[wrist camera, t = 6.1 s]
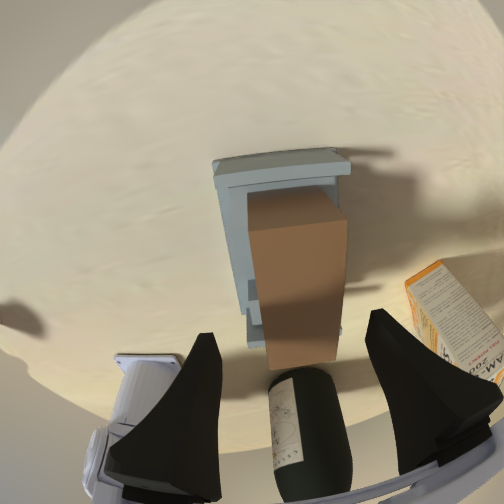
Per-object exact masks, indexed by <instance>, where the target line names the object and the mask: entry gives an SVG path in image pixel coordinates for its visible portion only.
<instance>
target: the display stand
mask: <svg viewBox="0 0 504 504" xmlns="http://www.w3.org/2000/svg"><path fill="white" fill-rule="evenodd" d="M212 166H213V172H214V176H213V178H214V183H215V189H217V194H218V199H219V204H220V210H221V215H222V220H223V225H224V231H225V236H226V241H227V246H228V251H229V256H230V261H231V266H232V271H233V276H234V281H235V285H236V290H237V295H238V300H239V305H240V309H241V314H242V315H244V314H246V315H247V345H248V348H257V347H266V346H265V339H264V333H263V326H262V320H261V313H260V307H259V300H258V293H257V287H256V280H255V274H254V267H253V261H252V254H251V248H250V241H249V235H248V214H247V193H250V192H257V191H265V190H273V189H282V188H291V187H301V186H311V185H318V186H319V187H320V188H321V189H322V190H323V191H324V192H325V194H326V195H327V196H328V197H329V198H330V199H331V200H332V202H333V203H334V204H335V205H336V206H337V207H338V175H351V163H350V161H349V160H347V159H345V158H343V157H342V156H340V155H338V154H337V149H335V148H333V147H327V148H312V149H299V150H288V151H278V152H269V153H260V154H252V155H245V156H238V157H231V158H224V159H218V160H213V162H212ZM341 334H342V327H341V325H340V333H339V335H341Z"/></svg>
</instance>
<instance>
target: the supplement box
mask: <svg viewBox="0 0 504 504" xmlns="http://www.w3.org/2000/svg"><path fill="white" fill-rule="evenodd" d="M405 287H406V291H407V294H408V298H409V301H410V305H411V308H412V313H413V319H414V326H415V329H416V331H417V332H418V334H419V336H420V338H421V340H422V341H423V343H424V345H425V346H426V347H428V348H429V349H430V350H431V351H433V352H434V353H436V354H437V355H439V356H440V357H442V358H443V359H445V360H446V361H448V362H449V363H451V364H453V365H455V366H456V367H458V368H460V369H462V370H464V371H466V372H468V373H470V374H472V375H475V376H477V377H479V378H482V379H485V380H488V381H491V382H494V383H497V385H498V387H500V385H501V383H502V382H503V380H504V337H503V335H502V334H501V333H500V331H499V330H498V329H497V327H496V326H495V324H494V323H493V322H492V320H491V319H490V318H489V316H488V315H487V314H486V313H485V311H484V310H483V309H482V308H481V306H480V305H479V304H478V303H477V301H476V300H475V299H474V298H473V297H472V295H471V294H470V293H469V292H468V291H467V290H466V288H465V287H464V286H463V285H462V284H461V283H460V281H459V280H458V279H457V278H456V277H455V276H454V275H453V274H452V273H451V271H450V270H449V269H448V268H447V267H446V266H445V265H444V264H443V263H442V262H441V261H440V260H439V261H437V262H436V263H434V264H433V265H431V266H429V267H428V268H426V269H425V270H423V271H421V272H420V273H418V274H417V275H415V276H414V277H412V278H410V279H409V280H407V281H406V282H405Z"/></svg>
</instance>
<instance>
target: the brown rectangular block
mask: <svg viewBox="0 0 504 504" xmlns="http://www.w3.org/2000/svg"><path fill="white" fill-rule="evenodd" d="M247 214H248V235H249V241H250V248H251V254H252V261H253V267H254V274H255V280H256V287H257V293H258V300H259V307H260V313H261V320H262V326H263V333H264V339H265V346H266V352H267V358H268V365H269V370H277V369H285V368H292V367H299V366H306V365H312V364H318V363H324V362H329V361H335V360H336V355H337V348H338V341H339V333H340V325H341V316H342V307H343V296H344V285H345V271H346V255H347V232H348V219H347V218H346V217H345V216H344V215H343V213H342V212H341V211H340V210H339V209H338V207H337V206H336V205H335V204H334V203H333V202H332V200H331V199H330V198H329V197H328V196H327V195H326V194H325V192H324V191H323V190H322V189H321V188H320V187H319V186H318V185H311V186H301V187H291V188H282V189H273V190H265V191H257V192H250V193H247Z"/></svg>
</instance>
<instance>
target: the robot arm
mask: <svg viewBox="0 0 504 504" xmlns="http://www.w3.org/2000/svg"><path fill="white" fill-rule="evenodd" d="M365 343H366V346H367V350H368V353H369V357H370V360H371V362H372V365H373V367H374V370H375V372H376V374H377V377H378V379H379V382H380V384H381V386H382V389H383V391H384V394H385V397H386V400H387V403H388V406H389V410H390V414H391V418H392V423H393V428H394V434H395V440H396V447H397V457H398V471H399V475H400V476H398V477H395V478H393V479H390V480H387V481H384V482H381V483H378V484H375V485H371V486H368V487H364V488H361V489H357V490H353V491H349V492H345V493H341V494H337V495H332V496H327V497H322V498H316V499H310V500H303V501H296V502H287V503H278V504H356V503H360V502H364V501H366V500H370V499H374V498H377V497H380V496H383V495H386V494H388V493H392V492H394V491H397V490H400V489H402V488H405V487H407V486H410V485H412V484H413V485H412V486H411V487H410V490H408V491H405V492H403V493H400V494H397V495H395V496H392V497H390V498H388V499H386V500H383V501H380V502H379V503H378V504H457V503H458V502H460V501H461V500H463V499H464V498H466V497H467V496H468V495H470V494H471V493H473V492H474V491H475V490H477V489H478V488H479V487H481V486H482V485H483V484H485V483H486V482H487V481H488V480H490V479H491V478H492V477H493V476H495V475H496V474H497V473H498V472H499V471H501V470H502V469H503V468H504V418H502V419H501V420H500V421H498V422H497V423H495V424H494V425H493V426H491V427H489V425H488V423H490V418H489V415H490V414H491V413H492V412H493V411H494V410H495V409H496V408H497V407H498V406H499V405H500V404H501V402H502V401H503V398H504V396H503V395H502V392H501V390H500V389H499V387H498V385H497V383H494V382H491V381H488V380H485V379H482V378H479V377H477V376H475V375H472V374H470V373H468V372H466V371H464V370H462V369H460V368H458V367H456V366H455V365H453V364H451V363H449V362H448V361H446V360H445V359H443V358H442V357H440V356H439V355H437V354H436V353H434V352H433V351H431V350H430V349H429V348H428V347H426V346H425V345H424V344H422V343H421V342H420V341H419V340H418V339H416V338H415V337H414V336H413V335H412V334H411V333H409V332H408V331H407V330H406V329H405V328H404V327H403V326H402V325H401V324H399V323H398V322H397V321H396V320H395V319H394V318H393V317H392V316H391V315H390V314H389V313H388V312H386V311H385V310H384V309H383V308H382V309H377V310H372V311H371V314H370V319H369V324H368V328H367V333H366V337H365ZM114 360H115V361H116V363H117V364H118V366H119V367H120V368H121V370H122V371H123V373H124V376H123V379H122V382H121V385H120V389H119V392H118V395H117V398H116V402H115V405H114V408H113V412H112V415H111V419H110V423H109V425H108V427H105V426H103V425H102V426H101V427H98V428H96V429H95V430H94V432H93V435H92V437H91V440H90V443H89V446H88V450H87V453H86V458H85V463H84V472H83V476H82V484H83V485H84V490H85V492H86V493H87V494H88V495H89V496H90V497H91V499H92V502H91V504H204V503H211V502H217V501H218V500H220V499H221V498H222V494H221V485H220V474H219V457H218V417H219V408H220V399H221V390H222V358H221V355H220V352H219V349H218V346H217V343H216V340H215V337H214V334H213V332H212V333H200V334H199V335H198V336H197V339H196V341H195V343H194V345H193V347H192V349H191V351H190V353H189V355H188V357H187V359H186V360H185V362H184V364H183V366H182V367H181V366H180V364H179V362H178V360H177V358H176V357H175V356H173V355H114ZM101 482H103V483H101ZM105 483H106V484H105Z"/></svg>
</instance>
